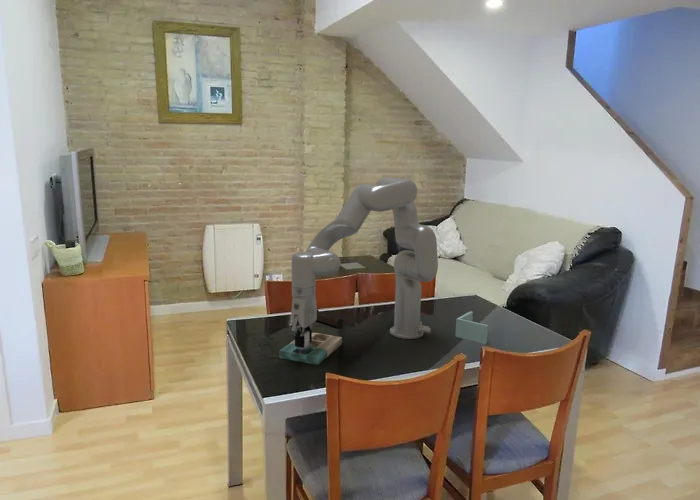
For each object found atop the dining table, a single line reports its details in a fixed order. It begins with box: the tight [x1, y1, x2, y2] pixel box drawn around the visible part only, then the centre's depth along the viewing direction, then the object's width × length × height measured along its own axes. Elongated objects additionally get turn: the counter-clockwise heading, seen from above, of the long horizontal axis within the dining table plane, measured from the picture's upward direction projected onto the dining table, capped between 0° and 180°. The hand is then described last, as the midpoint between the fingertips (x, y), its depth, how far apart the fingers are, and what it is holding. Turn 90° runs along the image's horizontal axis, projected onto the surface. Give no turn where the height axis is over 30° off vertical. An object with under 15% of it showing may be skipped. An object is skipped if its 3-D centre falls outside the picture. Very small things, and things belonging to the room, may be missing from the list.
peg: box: [297, 329, 310, 355], centre depth 173 cm, size 4×4×9 cm
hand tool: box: [316, 309, 345, 329], centre depth 209 cm, size 19×4×5 cm, turn 47°
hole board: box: [278, 332, 343, 366], centre depth 179 cm, size 14×20×2 cm
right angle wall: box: [454, 310, 489, 345], centre depth 196 cm, size 12×12×8 cm
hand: (303, 343), depth 173 cm, fingers open, 4 cm apart
